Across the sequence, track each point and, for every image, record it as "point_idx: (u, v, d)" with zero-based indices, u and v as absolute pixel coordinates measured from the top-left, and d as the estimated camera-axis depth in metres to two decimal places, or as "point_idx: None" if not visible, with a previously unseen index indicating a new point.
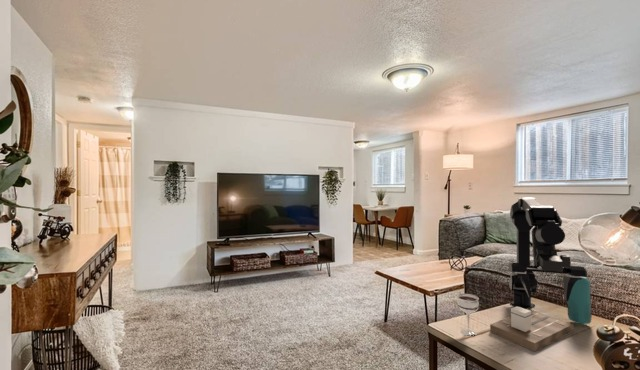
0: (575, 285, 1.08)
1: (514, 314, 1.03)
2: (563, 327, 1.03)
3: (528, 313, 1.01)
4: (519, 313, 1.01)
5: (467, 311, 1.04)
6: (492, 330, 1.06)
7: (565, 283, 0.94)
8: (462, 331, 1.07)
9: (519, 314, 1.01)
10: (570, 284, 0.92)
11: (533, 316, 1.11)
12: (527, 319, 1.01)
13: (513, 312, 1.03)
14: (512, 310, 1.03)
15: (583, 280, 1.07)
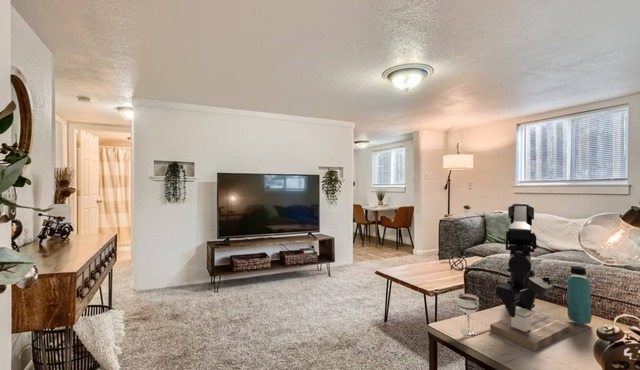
0: (575, 285, 1.08)
1: None
2: (563, 327, 1.03)
3: (528, 313, 1.01)
4: (519, 313, 1.01)
5: (467, 311, 1.04)
6: (492, 330, 1.06)
7: (527, 294, 1.05)
8: (462, 331, 1.07)
9: (519, 314, 1.01)
10: (535, 296, 1.04)
11: (533, 316, 1.11)
12: (527, 319, 1.01)
13: None
14: None
15: (583, 280, 1.07)
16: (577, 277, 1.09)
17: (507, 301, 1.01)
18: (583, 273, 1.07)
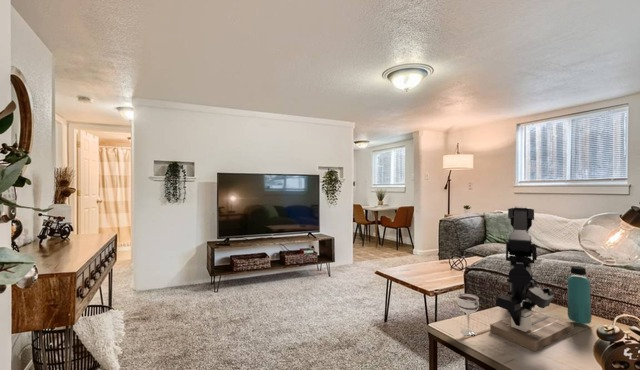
0: (575, 285, 1.08)
1: None
2: (563, 327, 1.03)
3: (528, 313, 1.01)
4: None
5: (467, 311, 1.04)
6: (492, 330, 1.06)
7: (522, 307, 1.04)
8: (462, 331, 1.07)
9: None
10: (530, 309, 1.03)
11: (533, 316, 1.11)
12: (527, 319, 1.01)
13: None
14: None
15: (583, 280, 1.07)
16: (577, 277, 1.09)
17: None
18: (583, 273, 1.07)
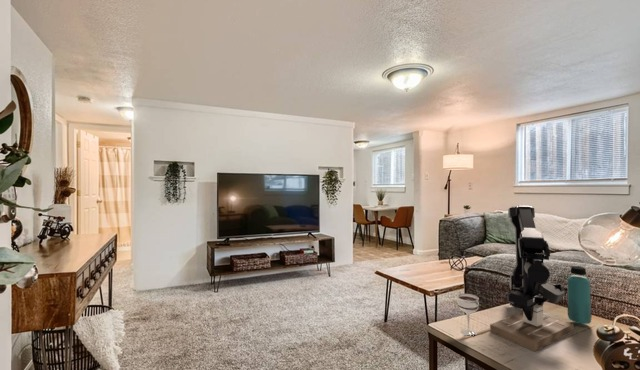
0: (575, 285, 1.08)
1: None
2: (563, 327, 1.03)
3: (540, 308, 1.04)
4: None
5: (467, 311, 1.04)
6: (492, 330, 1.06)
7: None
8: (462, 331, 1.07)
9: None
10: (542, 304, 1.06)
11: None
12: (539, 314, 1.04)
13: None
14: None
15: (583, 280, 1.07)
16: (577, 277, 1.09)
17: (524, 305, 1.05)
18: (583, 273, 1.07)
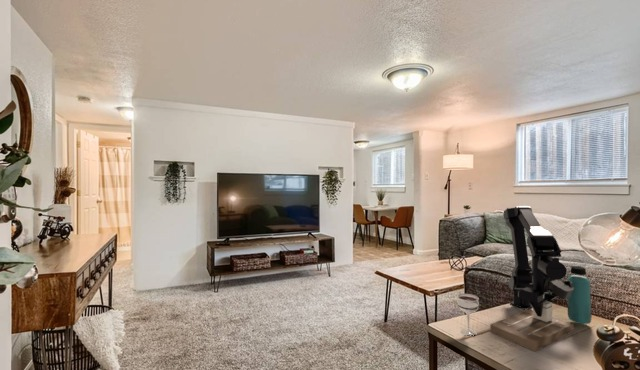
0: (575, 285, 1.08)
1: None
2: (563, 327, 1.03)
3: (549, 304, 1.07)
4: None
5: (467, 311, 1.04)
6: (492, 330, 1.06)
7: (543, 299, 1.10)
8: (462, 331, 1.07)
9: None
10: (551, 300, 1.09)
11: None
12: (548, 310, 1.07)
13: None
14: None
15: (583, 280, 1.07)
16: (577, 277, 1.09)
17: (534, 301, 1.08)
18: (583, 273, 1.07)
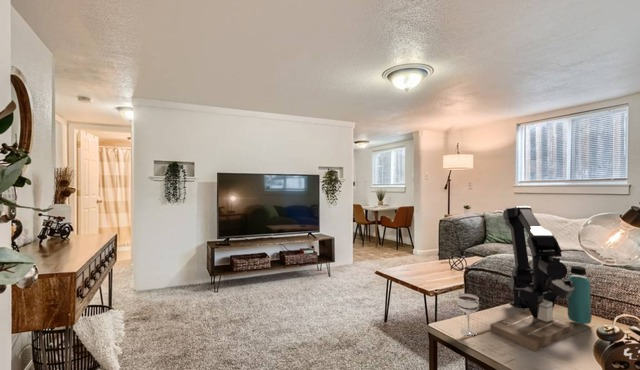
0: (575, 285, 1.08)
1: None
2: (563, 327, 1.03)
3: (550, 304, 1.07)
4: (541, 304, 1.08)
5: (467, 311, 1.04)
6: (492, 330, 1.06)
7: (548, 297, 1.12)
8: (462, 331, 1.07)
9: (541, 305, 1.08)
10: (555, 299, 1.10)
11: None
12: (549, 310, 1.07)
13: None
14: None
15: (583, 280, 1.07)
16: (577, 277, 1.09)
17: (530, 303, 1.07)
18: (583, 273, 1.07)
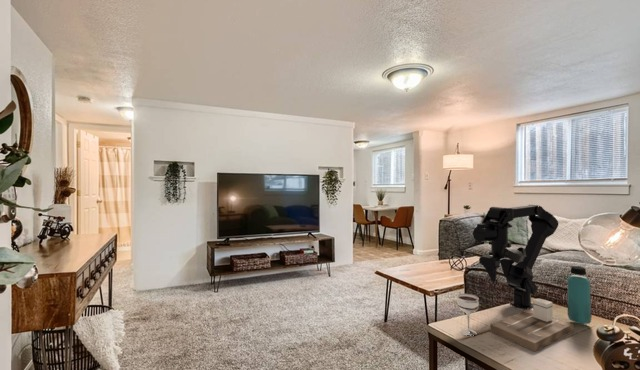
0: (575, 285, 1.08)
1: (536, 305, 1.09)
2: (563, 327, 1.03)
3: (550, 304, 1.07)
4: (541, 304, 1.08)
5: (467, 311, 1.04)
6: (492, 330, 1.06)
7: (504, 264, 1.26)
8: (462, 331, 1.07)
9: (541, 305, 1.08)
10: (511, 265, 1.24)
11: None
12: (549, 310, 1.07)
13: (535, 303, 1.10)
14: (534, 301, 1.10)
15: (583, 280, 1.07)
16: (577, 277, 1.09)
17: (489, 268, 1.20)
18: (583, 273, 1.07)
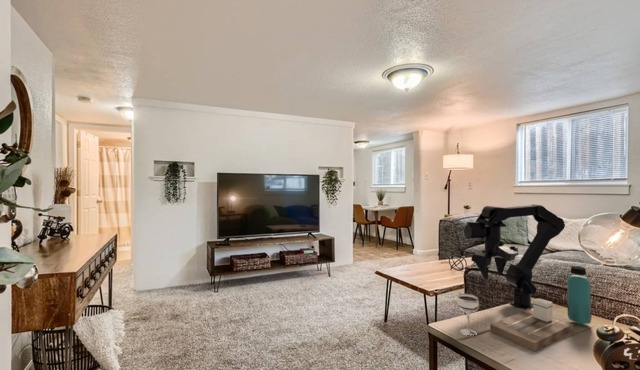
0: (575, 285, 1.08)
1: (536, 305, 1.09)
2: (563, 327, 1.03)
3: (550, 304, 1.07)
4: (541, 304, 1.08)
5: (467, 311, 1.04)
6: (492, 330, 1.06)
7: (499, 262, 1.28)
8: (462, 331, 1.07)
9: (541, 305, 1.08)
10: (504, 263, 1.27)
11: None
12: (549, 310, 1.07)
13: (535, 303, 1.10)
14: (534, 301, 1.10)
15: (583, 280, 1.07)
16: (577, 277, 1.09)
17: (481, 266, 1.23)
18: (583, 273, 1.07)
